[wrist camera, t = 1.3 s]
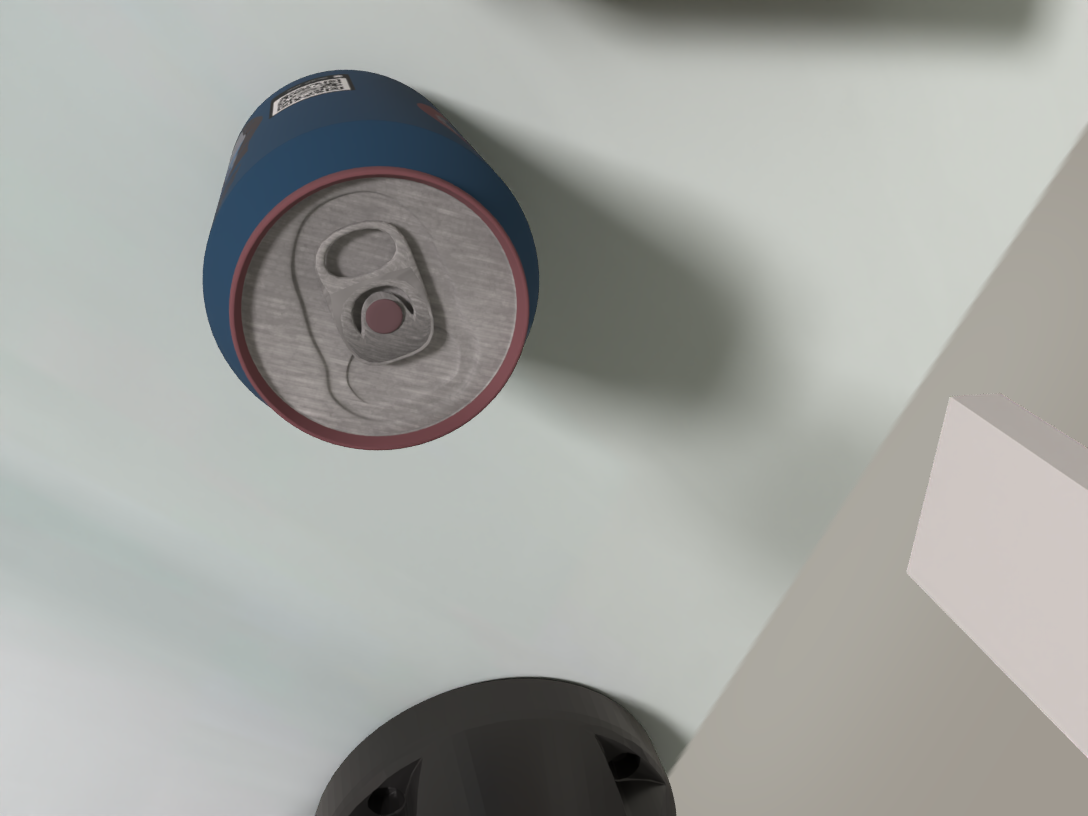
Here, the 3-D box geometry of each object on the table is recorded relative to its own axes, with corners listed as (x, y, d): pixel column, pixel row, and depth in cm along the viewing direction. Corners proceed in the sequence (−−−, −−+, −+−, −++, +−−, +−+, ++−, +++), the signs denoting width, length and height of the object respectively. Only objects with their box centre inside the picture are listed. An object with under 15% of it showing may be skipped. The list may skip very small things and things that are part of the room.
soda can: (492, 253, 31) (595, 409, 20) (285, 325, 30) (282, 524, 20) (422, 33, 28) (503, 82, 17) (189, 108, 27) (124, 208, 17)
